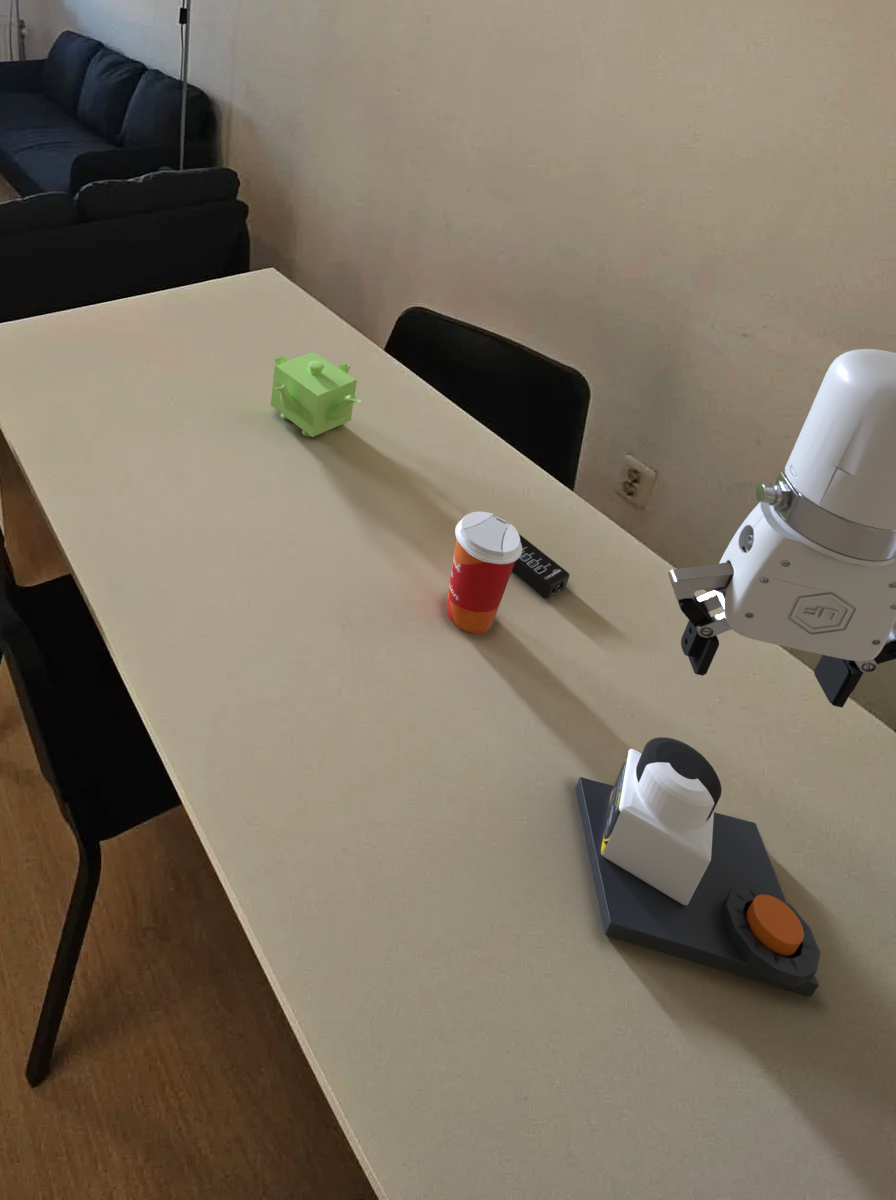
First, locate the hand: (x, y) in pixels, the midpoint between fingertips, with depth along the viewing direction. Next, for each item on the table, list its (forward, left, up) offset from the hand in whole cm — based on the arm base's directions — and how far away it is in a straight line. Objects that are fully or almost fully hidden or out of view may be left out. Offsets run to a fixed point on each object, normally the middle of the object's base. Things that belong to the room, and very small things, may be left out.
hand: (759, 675), depth 64 cm
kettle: (+40, -60, -26) cm, 77 cm away
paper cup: (+16, -25, -26) cm, 40 cm away
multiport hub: (+8, -36, -26) cm, 46 cm away
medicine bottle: (+2, 0, -25) cm, 25 cm away
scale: (-1, +1, -26) cm, 26 cm away
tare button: (-6, +5, -23) cm, 24 cm away
